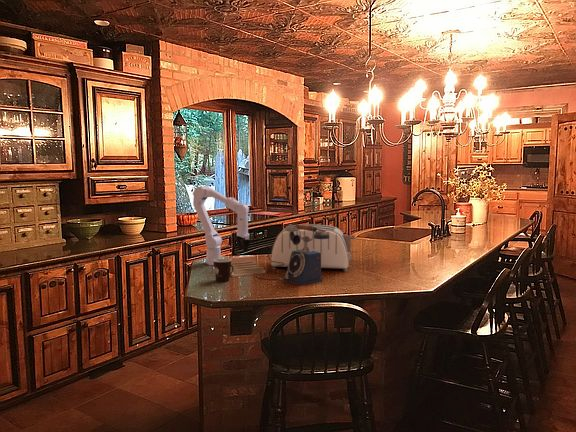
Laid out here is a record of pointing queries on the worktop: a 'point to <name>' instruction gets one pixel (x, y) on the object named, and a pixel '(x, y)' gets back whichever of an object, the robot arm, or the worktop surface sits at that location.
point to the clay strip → (243, 259)
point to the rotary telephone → (302, 258)
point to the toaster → (315, 247)
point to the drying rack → (246, 269)
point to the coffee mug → (222, 269)
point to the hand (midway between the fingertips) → (243, 250)
